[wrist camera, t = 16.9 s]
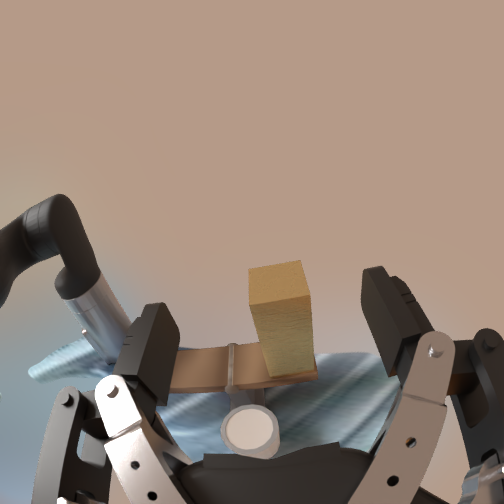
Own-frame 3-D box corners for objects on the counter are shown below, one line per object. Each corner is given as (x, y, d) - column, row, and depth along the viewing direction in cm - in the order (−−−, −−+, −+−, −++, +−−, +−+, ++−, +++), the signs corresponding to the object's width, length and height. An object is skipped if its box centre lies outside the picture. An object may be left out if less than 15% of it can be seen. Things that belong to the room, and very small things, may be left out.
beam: (309, 339, 34) (308, 331, 33) (318, 382, 28) (318, 375, 27) (166, 355, 35) (162, 349, 34) (158, 395, 30) (152, 390, 29)
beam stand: (263, 376, 39) (253, 346, 35) (266, 421, 33) (255, 397, 28) (232, 380, 40) (217, 350, 35) (231, 423, 33) (213, 400, 29)
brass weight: (307, 338, 32) (300, 260, 26) (314, 371, 28) (310, 294, 21) (267, 345, 32) (248, 269, 26) (270, 378, 28) (249, 304, 22)
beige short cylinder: (241, 471, 26) (227, 461, 23) (229, 430, 32) (214, 412, 28) (291, 455, 27) (287, 443, 24) (275, 416, 33) (268, 396, 29)
